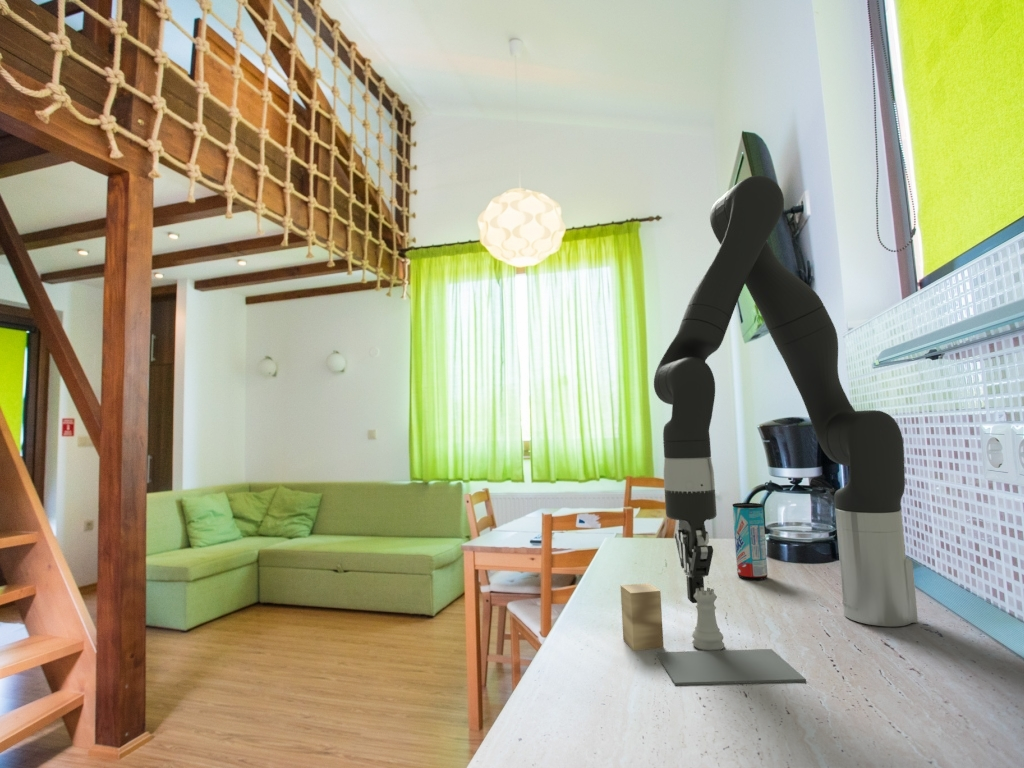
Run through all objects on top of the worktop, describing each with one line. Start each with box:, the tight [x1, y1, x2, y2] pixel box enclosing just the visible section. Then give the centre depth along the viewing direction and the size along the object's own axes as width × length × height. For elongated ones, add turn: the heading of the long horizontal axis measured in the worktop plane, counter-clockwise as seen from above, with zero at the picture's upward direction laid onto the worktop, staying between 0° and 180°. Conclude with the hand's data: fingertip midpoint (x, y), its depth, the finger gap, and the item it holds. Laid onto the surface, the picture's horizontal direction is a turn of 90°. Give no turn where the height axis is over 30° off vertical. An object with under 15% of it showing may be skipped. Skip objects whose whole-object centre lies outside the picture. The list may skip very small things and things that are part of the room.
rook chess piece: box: [691, 586, 725, 651], centre depth 84 cm, size 4×4×8 cm
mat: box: [656, 648, 807, 686], centre depth 76 cm, size 16×10×1 cm, turn 89°
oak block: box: [620, 582, 665, 651], centre depth 86 cm, size 4×4×8 cm
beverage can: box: [732, 502, 769, 581], centre depth 122 cm, size 6×6×15 cm
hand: (696, 601), depth 89 cm, fingers closed
